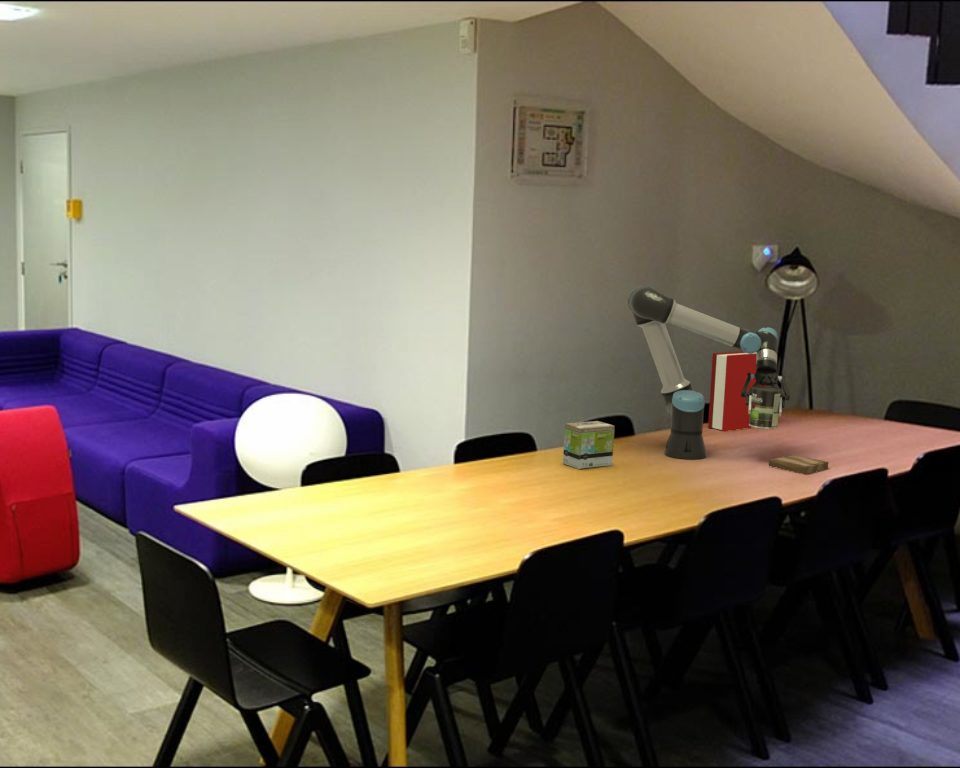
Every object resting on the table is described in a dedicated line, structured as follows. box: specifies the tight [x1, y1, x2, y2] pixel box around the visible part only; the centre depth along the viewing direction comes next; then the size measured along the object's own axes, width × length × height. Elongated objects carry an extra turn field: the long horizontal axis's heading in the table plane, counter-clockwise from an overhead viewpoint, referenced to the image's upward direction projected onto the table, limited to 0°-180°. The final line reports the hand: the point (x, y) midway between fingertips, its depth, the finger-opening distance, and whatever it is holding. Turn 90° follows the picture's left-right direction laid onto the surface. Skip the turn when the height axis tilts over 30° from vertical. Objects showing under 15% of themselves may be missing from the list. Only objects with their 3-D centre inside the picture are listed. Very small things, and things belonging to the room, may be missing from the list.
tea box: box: [562, 420, 615, 470], centre depth 382 cm, size 15×10×15 cm, turn 123°
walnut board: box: [767, 454, 829, 475], centre depth 388 cm, size 15×15×3 cm
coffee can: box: [749, 386, 782, 430], centre depth 394 cm, size 10×10×14 cm
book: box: [707, 350, 768, 432], centre depth 458 cm, size 27×8×32 cm, turn 124°
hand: (764, 413), depth 391 cm, fingers closed on coffee can, 10 cm apart
